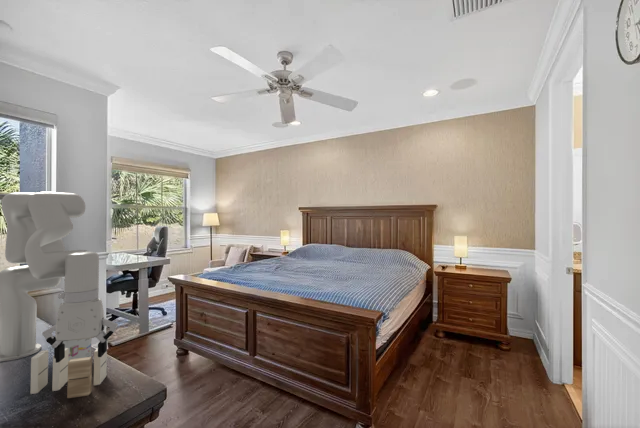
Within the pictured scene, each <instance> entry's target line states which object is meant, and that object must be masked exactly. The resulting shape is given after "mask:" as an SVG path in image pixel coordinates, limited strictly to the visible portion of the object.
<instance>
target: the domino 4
mask: <svg viewBox="0 0 640 428" xmlns="http://www.w3.org/2000/svg"><path fill="white" fill-rule="evenodd" d="M107 351H108V350H107ZM107 351H106V352H105V353H104V354H103V355H102V357H98V347H97V348H96V349H95V350H94V353H93V355H94V356H93V386H100V385H101V384H102V383H103V381H104V380H105V378H106V377H107V367H108V366H107V363H108V360H107V359H108V352H107Z"/></svg>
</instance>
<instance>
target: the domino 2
mask: <svg viewBox="0 0 640 428" xmlns="http://www.w3.org/2000/svg"><path fill="white" fill-rule="evenodd" d="M68 355H69V348H65V357H64V358H63V359H62V360H61V361H60V362H58V363H56V358H54V355H52V380H51V381H52V383H51V385H52V386H51V387H52V388H51V390H52V391H51V392H54V391H55V392H56V391H60V390H61V389H62V388H63V387H64V386H65V385H66V384H67V383H68Z"/></svg>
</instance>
